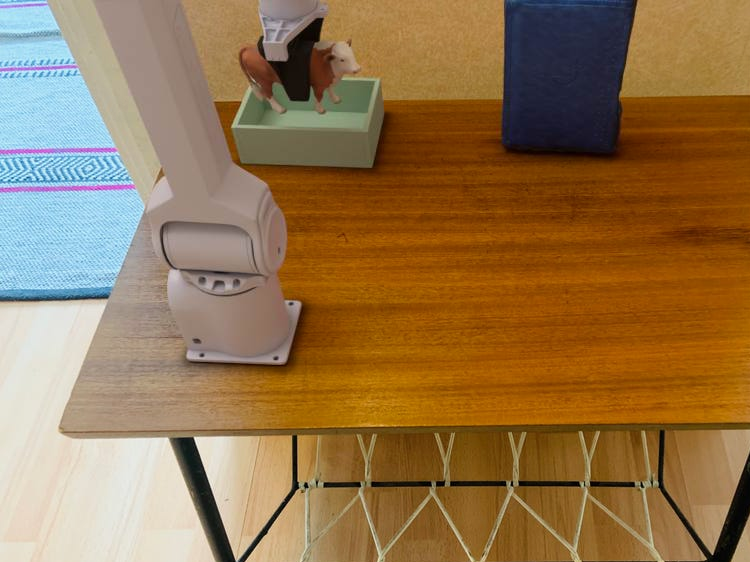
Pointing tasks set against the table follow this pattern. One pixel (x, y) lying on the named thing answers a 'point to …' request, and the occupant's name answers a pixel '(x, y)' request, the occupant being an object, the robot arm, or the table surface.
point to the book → (564, 73)
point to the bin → (312, 127)
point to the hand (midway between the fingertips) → (304, 87)
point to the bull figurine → (324, 71)
